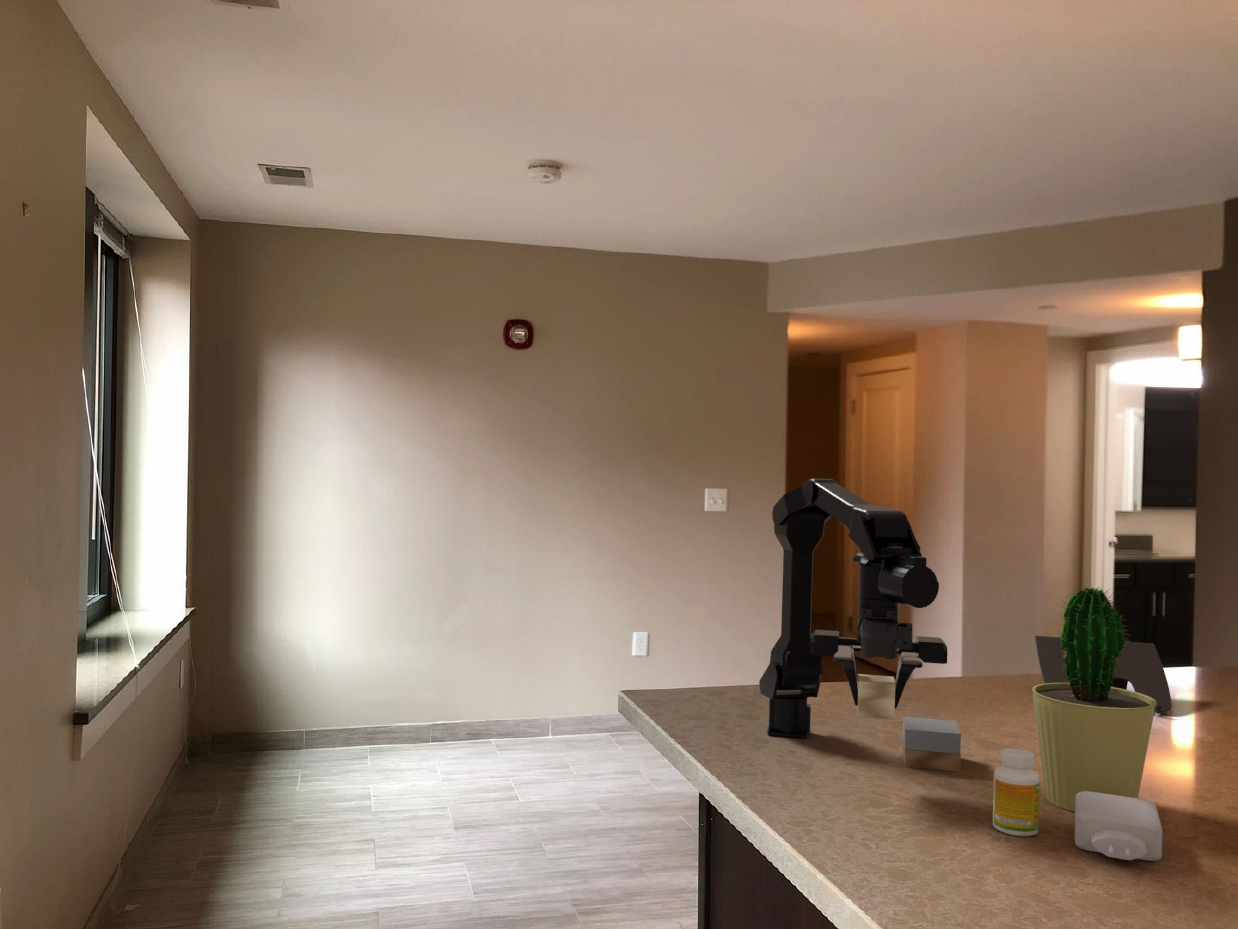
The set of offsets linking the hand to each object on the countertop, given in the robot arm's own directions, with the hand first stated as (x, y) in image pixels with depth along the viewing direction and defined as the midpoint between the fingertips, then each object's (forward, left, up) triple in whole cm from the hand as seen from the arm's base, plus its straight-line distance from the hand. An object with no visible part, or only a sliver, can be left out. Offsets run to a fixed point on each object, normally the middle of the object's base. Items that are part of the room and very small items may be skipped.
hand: (875, 706), depth 144 cm
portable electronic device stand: (+47, +67, -11) cm, 82 cm away
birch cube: (0, 0, -1) cm, 1 cm away
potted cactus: (+29, 0, -11) cm, 31 cm away
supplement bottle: (+17, -14, -11) cm, 25 cm away
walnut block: (+9, +13, -11) cm, 20 cm away
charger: (+28, -18, -11) cm, 35 cm away
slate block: (+9, +14, -8) cm, 18 cm away
